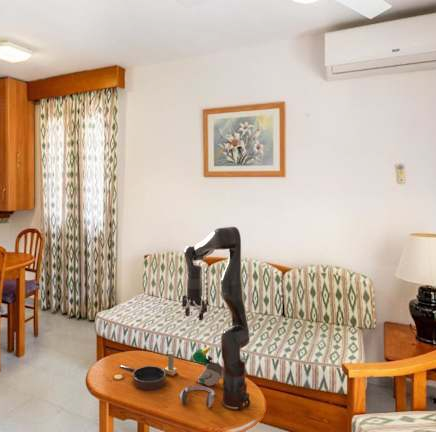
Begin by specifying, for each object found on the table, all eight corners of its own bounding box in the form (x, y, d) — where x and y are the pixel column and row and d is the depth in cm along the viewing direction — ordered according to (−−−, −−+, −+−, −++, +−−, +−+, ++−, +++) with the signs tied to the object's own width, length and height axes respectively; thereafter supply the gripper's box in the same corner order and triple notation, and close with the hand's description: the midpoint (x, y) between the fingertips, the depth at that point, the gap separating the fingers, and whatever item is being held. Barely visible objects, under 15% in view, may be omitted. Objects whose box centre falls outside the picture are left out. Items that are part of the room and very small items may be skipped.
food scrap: (119, 379, 183) (119, 381, 183) (124, 375, 186) (124, 377, 186) (112, 377, 185) (112, 378, 185) (117, 373, 188) (117, 375, 188)
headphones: (210, 415, 155) (217, 396, 174) (211, 400, 155) (218, 383, 174) (168, 408, 159) (180, 390, 178) (169, 394, 159) (180, 378, 179)
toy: (235, 376, 174) (202, 344, 178) (212, 402, 177) (179, 369, 181) (237, 371, 180) (205, 340, 184) (214, 395, 183) (183, 364, 187)
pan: (171, 380, 184) (171, 371, 183) (152, 395, 171) (152, 385, 170) (146, 371, 192) (146, 363, 191) (126, 385, 179) (126, 376, 179)
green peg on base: (177, 374, 190) (177, 352, 189) (172, 377, 186) (172, 355, 185) (168, 371, 192) (168, 350, 191) (164, 374, 189) (164, 353, 188)
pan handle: (138, 373, 186) (138, 369, 185) (135, 374, 184) (135, 371, 184) (121, 367, 191) (121, 364, 191) (118, 368, 190) (118, 365, 190)
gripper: (178, 284, 194) (178, 316, 196) (201, 290, 185) (200, 323, 186) (188, 282, 200) (188, 312, 201) (210, 287, 190) (210, 319, 192)
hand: (194, 317), depth 194 cm, fingers open, 8 cm apart
